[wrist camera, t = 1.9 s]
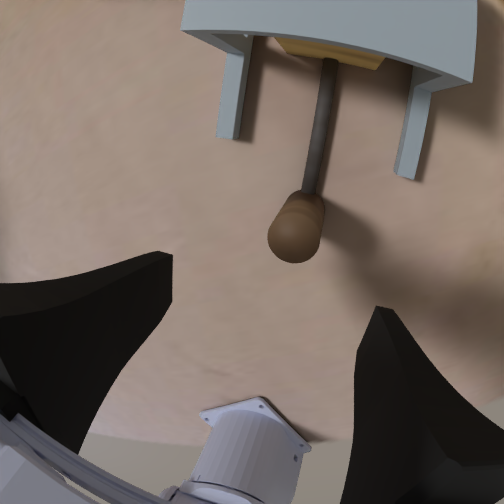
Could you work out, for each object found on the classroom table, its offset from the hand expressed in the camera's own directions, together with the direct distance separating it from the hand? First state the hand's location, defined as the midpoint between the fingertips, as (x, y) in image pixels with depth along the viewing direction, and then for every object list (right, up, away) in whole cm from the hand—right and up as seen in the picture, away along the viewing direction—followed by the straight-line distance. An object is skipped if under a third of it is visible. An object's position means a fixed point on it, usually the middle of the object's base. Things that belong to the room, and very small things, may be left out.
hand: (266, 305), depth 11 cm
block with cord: (+3, +10, +5) cm, 12 cm away
